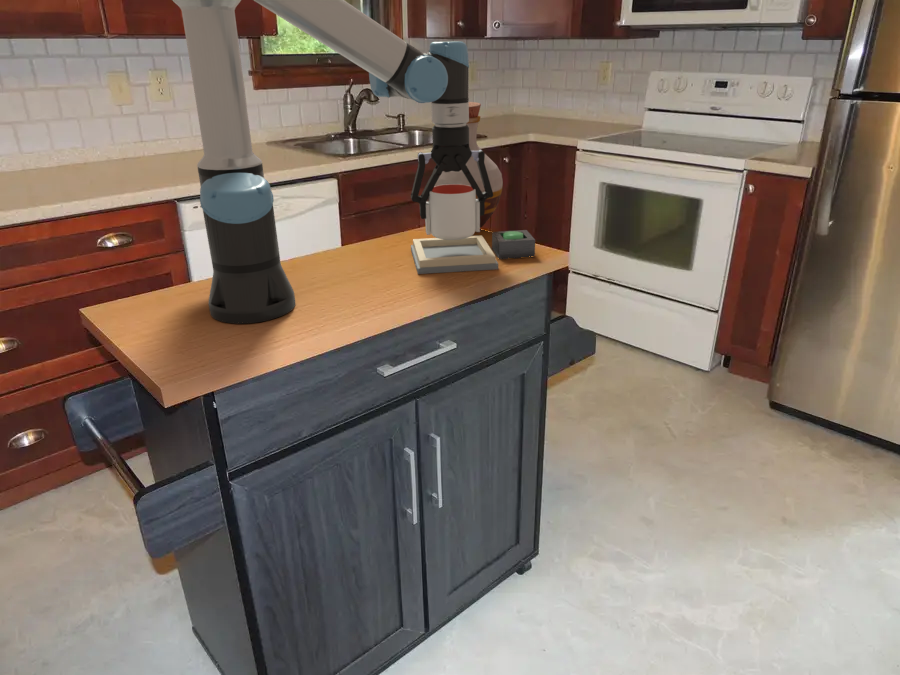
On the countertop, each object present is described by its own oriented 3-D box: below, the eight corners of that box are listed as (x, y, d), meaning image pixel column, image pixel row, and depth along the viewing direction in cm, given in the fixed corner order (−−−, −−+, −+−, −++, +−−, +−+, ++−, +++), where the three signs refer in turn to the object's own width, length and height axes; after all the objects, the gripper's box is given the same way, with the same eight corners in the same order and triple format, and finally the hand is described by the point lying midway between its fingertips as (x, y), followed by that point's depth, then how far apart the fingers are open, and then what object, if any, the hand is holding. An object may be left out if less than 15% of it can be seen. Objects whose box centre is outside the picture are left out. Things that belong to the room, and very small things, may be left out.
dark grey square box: (499, 259, 146) (499, 241, 144) (492, 248, 153) (492, 231, 151) (534, 257, 146) (535, 239, 145) (525, 246, 154) (526, 230, 152)
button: (505, 251, 147) (505, 237, 146) (501, 245, 151) (501, 231, 149) (524, 250, 147) (525, 236, 146) (520, 244, 151) (520, 230, 150)
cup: (474, 228, 149) (474, 183, 144) (477, 241, 139) (477, 193, 135) (429, 229, 148) (428, 184, 144) (429, 242, 139) (428, 194, 135)
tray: (417, 274, 137) (417, 261, 136) (411, 250, 153) (410, 238, 152) (498, 269, 139) (498, 256, 138) (483, 246, 155) (483, 234, 154)
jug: (441, 214, 183) (439, 99, 170) (506, 216, 180) (508, 99, 167) (426, 233, 165) (422, 106, 153) (497, 236, 162) (499, 107, 150)
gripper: (395, 129, 130) (401, 239, 139) (509, 124, 132) (507, 233, 142) (393, 124, 136) (399, 230, 146) (501, 120, 139) (500, 224, 148)
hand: (452, 231), depth 144 cm, fingers closed on cup, 10 cm apart
